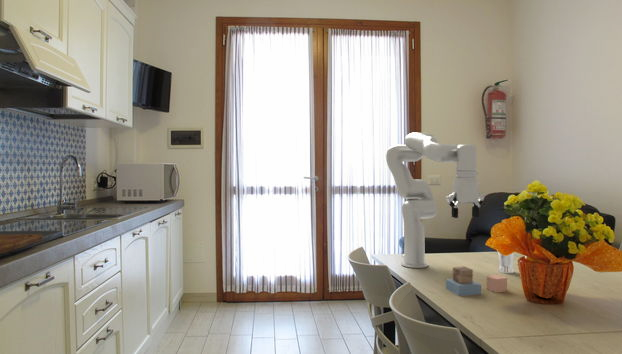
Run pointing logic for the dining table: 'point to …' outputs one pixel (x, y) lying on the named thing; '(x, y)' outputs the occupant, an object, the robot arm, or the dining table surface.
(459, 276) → the walnut cube
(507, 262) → the beer glass
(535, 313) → the dining table surface
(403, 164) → the robot arm
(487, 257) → the dining table surface
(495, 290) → the pink cube
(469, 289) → the base block
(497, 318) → the dining table surface
